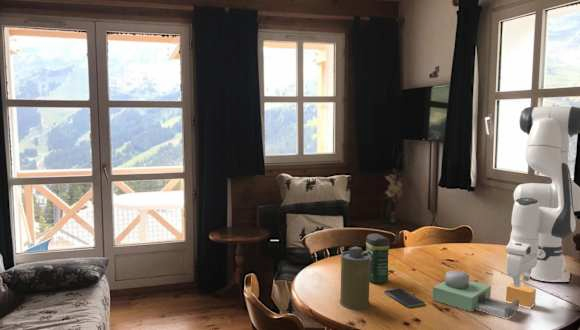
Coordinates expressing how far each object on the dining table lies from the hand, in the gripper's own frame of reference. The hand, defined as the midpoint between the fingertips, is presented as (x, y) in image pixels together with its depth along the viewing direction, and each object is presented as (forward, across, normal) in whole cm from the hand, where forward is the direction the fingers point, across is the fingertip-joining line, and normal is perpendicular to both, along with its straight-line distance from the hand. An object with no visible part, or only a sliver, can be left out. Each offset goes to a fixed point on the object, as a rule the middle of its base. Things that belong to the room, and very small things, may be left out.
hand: (521, 283), depth 161 cm
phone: (+8, +25, -32) cm, 41 cm away
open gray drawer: (+8, +11, -4) cm, 14 cm away
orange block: (+8, -1, 0) cm, 8 cm away
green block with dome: (+8, +11, -16) cm, 21 cm away
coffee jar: (+8, +16, -49) cm, 52 cm away
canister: (+8, +41, -42) cm, 59 cm away
